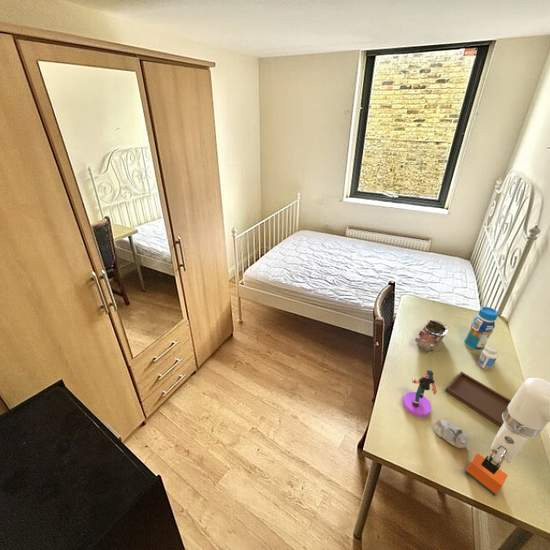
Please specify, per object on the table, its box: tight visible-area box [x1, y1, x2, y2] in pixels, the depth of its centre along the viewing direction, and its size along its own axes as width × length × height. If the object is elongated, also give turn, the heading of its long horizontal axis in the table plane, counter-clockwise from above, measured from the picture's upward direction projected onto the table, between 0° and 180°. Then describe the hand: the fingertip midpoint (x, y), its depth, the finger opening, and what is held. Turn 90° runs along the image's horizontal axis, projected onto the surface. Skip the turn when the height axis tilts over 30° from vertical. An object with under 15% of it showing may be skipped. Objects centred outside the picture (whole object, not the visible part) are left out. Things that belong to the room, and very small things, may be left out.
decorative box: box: [414, 318, 450, 352], centre depth 134 cm, size 13×20×10 cm, turn 128°
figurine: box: [402, 369, 438, 418], centre depth 104 cm, size 9×9×18 cm
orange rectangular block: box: [464, 452, 508, 497], centre depth 86 cm, size 8×4×6 cm, turn 39°
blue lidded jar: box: [463, 306, 499, 352], centre depth 133 cm, size 8×8×20 cm
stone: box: [433, 419, 468, 449], centre depth 98 cm, size 10×7×3 cm
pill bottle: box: [476, 344, 499, 371], centre depth 124 cm, size 6×5×10 cm
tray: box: [444, 371, 512, 429], centre depth 111 cm, size 20×14×2 cm
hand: (494, 457), depth 82 cm, fingers open, 9 cm apart
